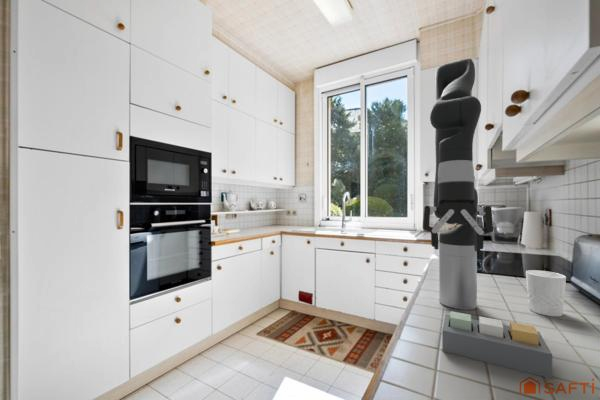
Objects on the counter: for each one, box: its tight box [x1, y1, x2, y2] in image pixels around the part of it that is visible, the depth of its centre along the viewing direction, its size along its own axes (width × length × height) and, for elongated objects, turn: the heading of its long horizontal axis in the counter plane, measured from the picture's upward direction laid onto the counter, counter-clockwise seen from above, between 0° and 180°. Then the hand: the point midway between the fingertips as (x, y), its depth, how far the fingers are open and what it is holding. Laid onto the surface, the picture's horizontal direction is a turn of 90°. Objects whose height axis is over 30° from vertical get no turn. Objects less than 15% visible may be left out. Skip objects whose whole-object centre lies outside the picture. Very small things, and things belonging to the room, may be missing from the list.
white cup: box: [525, 269, 567, 317], centre depth 72 cm, size 8×8×10 cm
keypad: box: [442, 313, 553, 379], centre depth 53 cm, size 9×16×4 cm, turn 59°
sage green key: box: [449, 310, 472, 331], centre depth 55 cm, size 4×4×2 cm
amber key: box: [509, 321, 539, 345], centre depth 50 cm, size 4×4×2 cm
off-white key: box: [478, 316, 504, 338], centre depth 53 cm, size 4×4×2 cm
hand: (456, 250), depth 64 cm, fingers open, 8 cm apart
